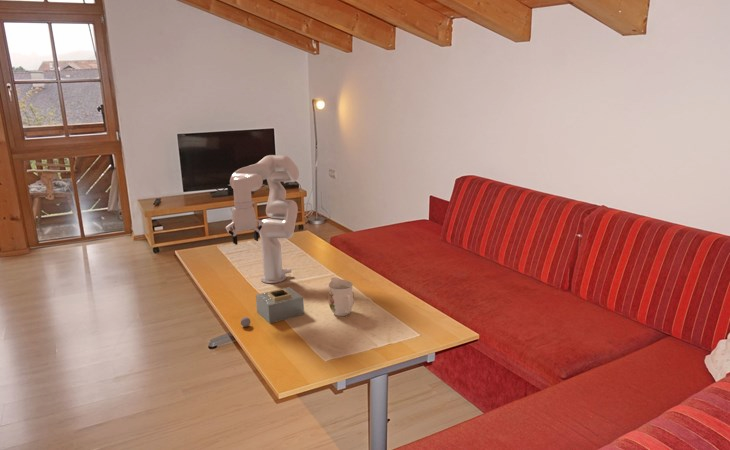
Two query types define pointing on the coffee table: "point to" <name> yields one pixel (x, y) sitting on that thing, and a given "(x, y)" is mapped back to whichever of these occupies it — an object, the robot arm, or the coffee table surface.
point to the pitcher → (340, 296)
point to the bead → (245, 321)
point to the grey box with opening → (279, 304)
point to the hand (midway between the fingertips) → (246, 242)
